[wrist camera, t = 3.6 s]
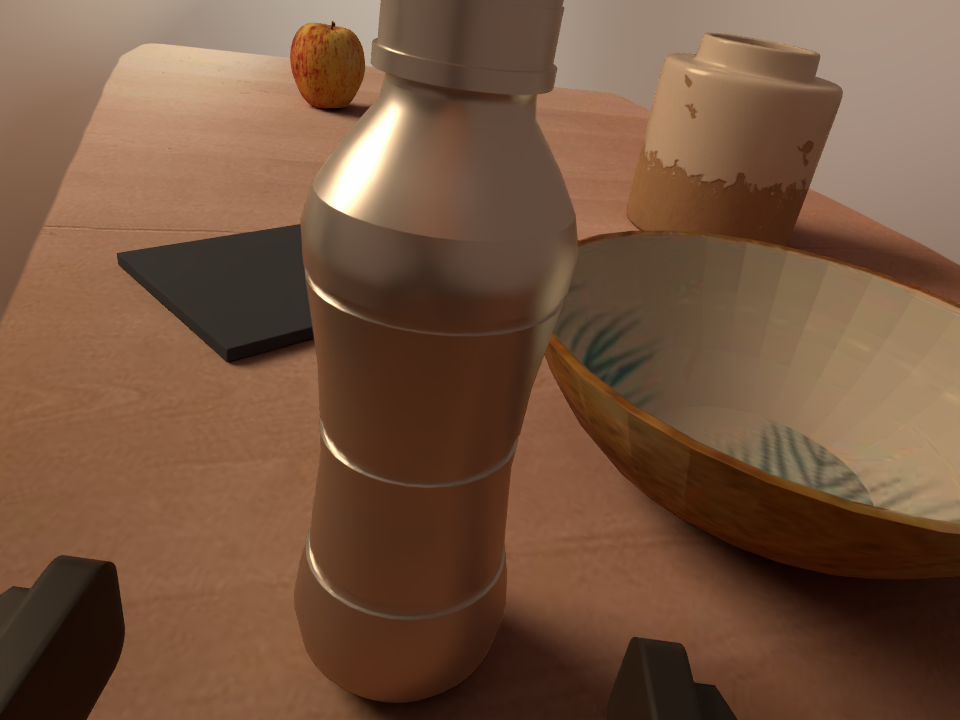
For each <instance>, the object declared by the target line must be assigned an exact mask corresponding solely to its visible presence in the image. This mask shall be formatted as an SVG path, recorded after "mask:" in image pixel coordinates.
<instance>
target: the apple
mask: <svg viewBox="0 0 960 720" xmlns="http://www.w3.org/2000/svg"><path fill="white" fill-rule="evenodd" d="M290 60H291V68H292V73H293V76H294V79H295V82H296V84H297V86H298V89H299V91H300V93H301V95H302V96H303V98H304V99H305V100H306V101H307V102H308V103H309V104H311V105H313V106H315V107H317V108H342V107H345V106H347V105H349V104H350V103H351V101H352V100H353V98H354V97H355V95H356V93H357V91H358V89H359V87H360V85H361V83H362V80H363V77H364V72H365V59H364V52H363V48H362V45H361V43H360V41H359V39H358V38H357V36H356V35H355V34H354V33H353V32H352V31H351V30H349V29H346V28H343V27H336V26H335V23H334V22H333V21H332V26H331V25H326V24H321V23H308V24H306V25H304V26H302V27H301V28H300V29H299V30H298V32H297V33H296V34H295V37H294V39H293V42H292V46H291V54H290Z"/></svg>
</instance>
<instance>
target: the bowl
mask: <svg viewBox="0 0 960 720" xmlns="http://www.w3.org/2000/svg"><path fill="white" fill-rule="evenodd" d="M545 357H546V359H547V362H548V365H549V367H550V370H551V372H552V374H553V376H554V378H555V380H556V382H557V384H558V385H559V387H560V389H561V391H562V393H563V395H564V397H565V398H566V400H567V402H568V404H569V405H570V407H571V409H572V411H573V412H574V414H575V416H576V417H577V419H578V421H579V423H580V424H581V426H582V427H583V428H584V429H585V431H586V432H587V433H588V434H589V435H590V437H591V438H592V439H593V440H594V441H595V443H596V444H597V445H598V446H599V447H600V449H601V450H602V451H603V452H604V453H605V455H606V456H607V457H608V458H609V459H610V460H611V462H612V463H613V464H614V465H615V466H616V467H617V469H618V470H619V471H620V472H621V473H622V474H623V475H624V476H625V477H626V478H627V479H628V480H630V481H631V482H632V483H633V484H634V485H636V486H637V487H638V488H639V489H640V490H641V491H643V492H644V493H645V494H646V495H647V496H648V497H650V498H651V499H652V500H653V501H655V502H656V503H658V504H660V505H661V506H663V507H664V508H666V509H667V510H669V511H670V512H672V513H673V514H675V515H677V516H678V517H680V518H681V519H683V520H684V521H686V522H687V523H689V524H690V525H693V526H695V527H697V528H699V529H701V530H703V531H705V532H707V533H709V534H711V535H713V536H715V537H717V538H719V539H721V540H723V541H725V542H727V543H729V544H731V545H733V546H735V547H738V548H741V549H744V550H746V551H749V552H752V553H754V554H757V555H760V556H763V557H765V558H768V559H771V560H774V561H776V562H779V563H782V564H787V565H791V566H795V567H799V568H803V569H808V570H812V571H816V572H820V573H824V574H829V575H839V576H848V577H858V578H868V579H921V578H937V577H952V576H960V304H957V303H955V302H953V301H950V300H948V299H946V298H943V297H941V296H939V295H936V294H934V293H932V292H929V291H927V290H925V289H922V288H920V287H917V286H914V285H912V284H909V283H906V282H903V281H901V280H898V279H895V278H892V277H890V276H887V275H884V274H881V273H879V272H876V271H873V270H869V269H866V268H863V267H860V266H856V265H853V264H850V263H847V262H843V261H840V260H837V259H834V258H830V257H826V256H822V255H818V254H814V253H811V252H807V251H803V250H799V249H795V248H791V247H786V246H781V245H776V244H771V243H766V242H761V241H756V240H751V239H746V238H738V237H731V236H724V235H717V234H709V233H697V232H683V231H627V232H618V233H610V234H601V235H596V236H592V237H588V238H585V239H581V240H578V257H577V262H576V265H575V268H574V272H573V275H572V279H571V282H570V286H569V290H568V293H567V294H566V296H565V297H564V301H563V306H562V308H561V311H560V314H559V316H558V319H557V322H556V324H555V327H554V330H553V332H552V335H551V338H550V340H549V343H548V346H547V349H546V351H545Z"/></svg>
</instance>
